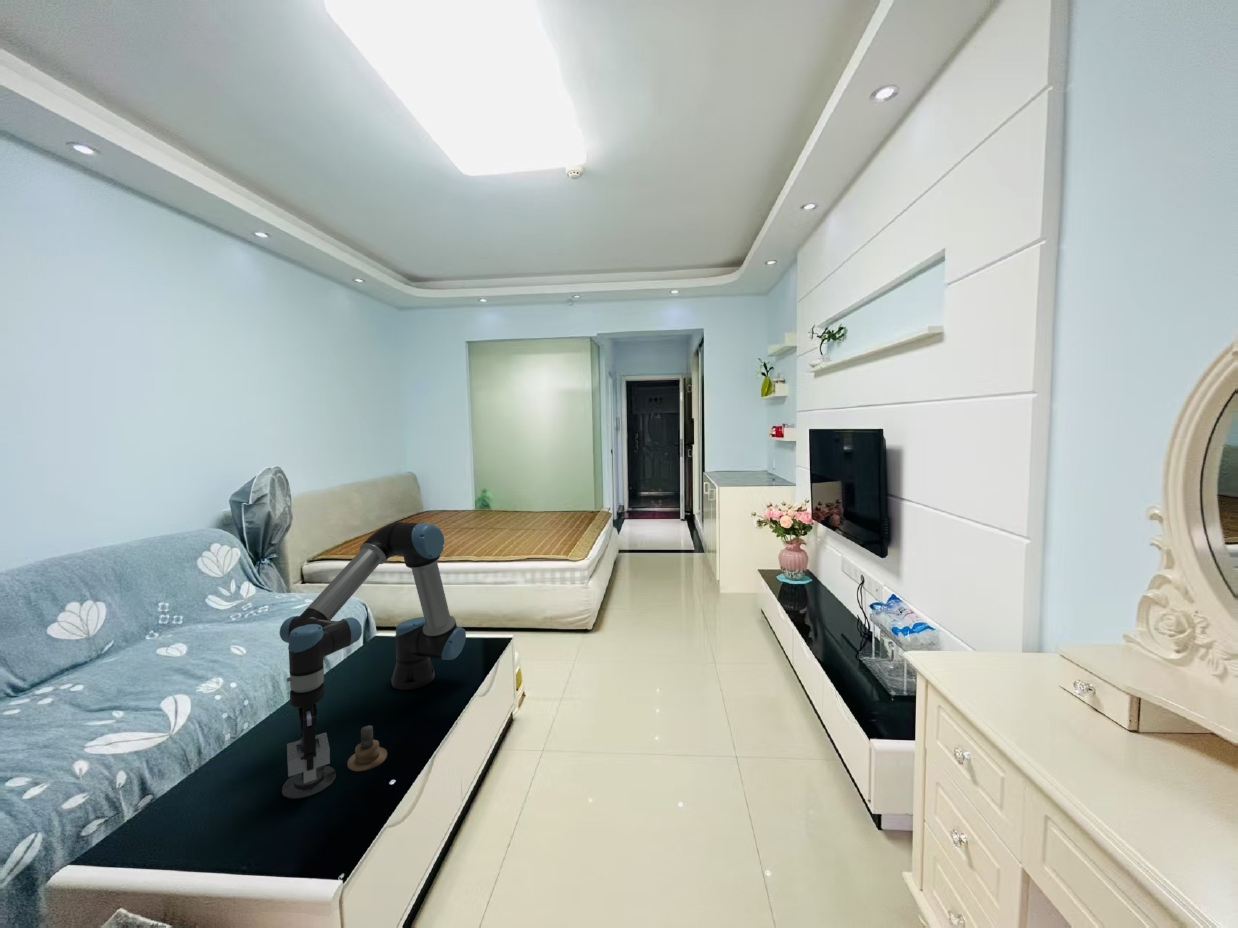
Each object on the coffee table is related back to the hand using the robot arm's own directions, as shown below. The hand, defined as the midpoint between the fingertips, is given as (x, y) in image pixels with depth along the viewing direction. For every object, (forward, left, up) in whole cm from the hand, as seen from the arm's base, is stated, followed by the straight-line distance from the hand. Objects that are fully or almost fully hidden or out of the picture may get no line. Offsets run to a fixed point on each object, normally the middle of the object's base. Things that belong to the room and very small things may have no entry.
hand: (308, 770), depth 128 cm
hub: (0, 0, -3) cm, 3 cm away
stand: (-14, +4, -3) cm, 15 cm away
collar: (0, 0, +3) cm, 3 cm away
